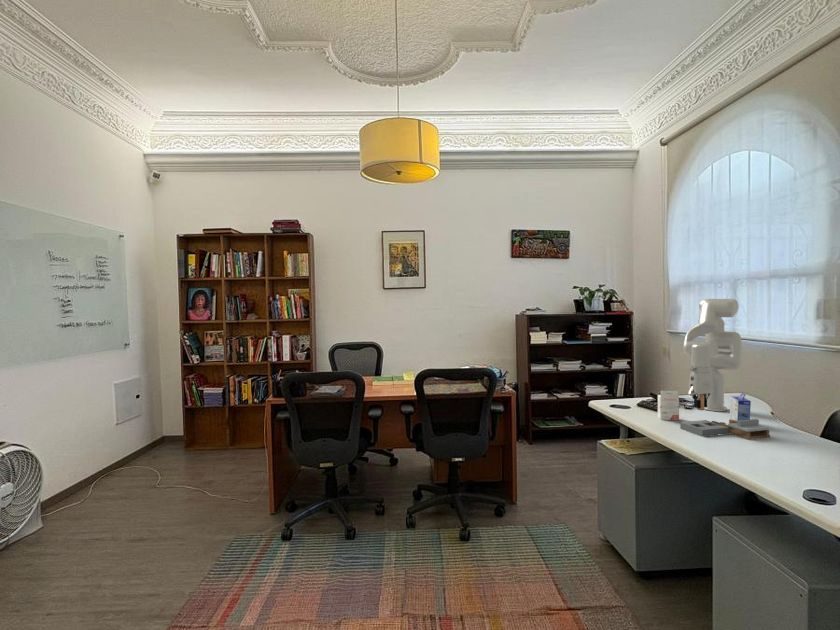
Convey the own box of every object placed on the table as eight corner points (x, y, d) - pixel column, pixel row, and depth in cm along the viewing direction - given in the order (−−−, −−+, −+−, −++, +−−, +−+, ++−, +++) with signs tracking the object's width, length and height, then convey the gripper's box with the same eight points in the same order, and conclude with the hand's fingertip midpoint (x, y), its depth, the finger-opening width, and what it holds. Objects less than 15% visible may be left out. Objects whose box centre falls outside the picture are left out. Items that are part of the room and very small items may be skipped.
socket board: (680, 428, 200) (680, 422, 200) (705, 426, 203) (705, 420, 203) (702, 436, 189) (702, 429, 188) (728, 434, 192) (728, 427, 191)
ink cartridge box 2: (751, 426, 202) (751, 396, 201) (737, 425, 204) (737, 395, 203) (742, 420, 211) (742, 391, 211) (729, 420, 213) (729, 391, 213)
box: (710, 427, 202) (710, 421, 201) (731, 425, 204) (731, 419, 204) (747, 439, 184) (747, 432, 184) (769, 437, 187) (770, 430, 186)
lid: (728, 425, 193) (728, 418, 193) (748, 423, 196) (748, 416, 195) (747, 431, 184) (747, 424, 184) (768, 429, 187) (768, 422, 187)
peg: (695, 408, 208) (695, 392, 207) (700, 408, 209) (700, 392, 208) (700, 410, 205) (700, 394, 204) (705, 410, 206) (705, 393, 205)
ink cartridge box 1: (675, 418, 218) (676, 389, 217) (679, 420, 213) (679, 391, 212) (657, 417, 220) (657, 388, 219) (660, 419, 215) (660, 390, 214)
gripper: (692, 372, 200) (692, 411, 201) (721, 369, 203) (721, 407, 205) (679, 369, 207) (679, 406, 209) (708, 366, 211) (707, 403, 212)
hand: (700, 406), depth 207 cm, fingers closed on peg, 3 cm apart
